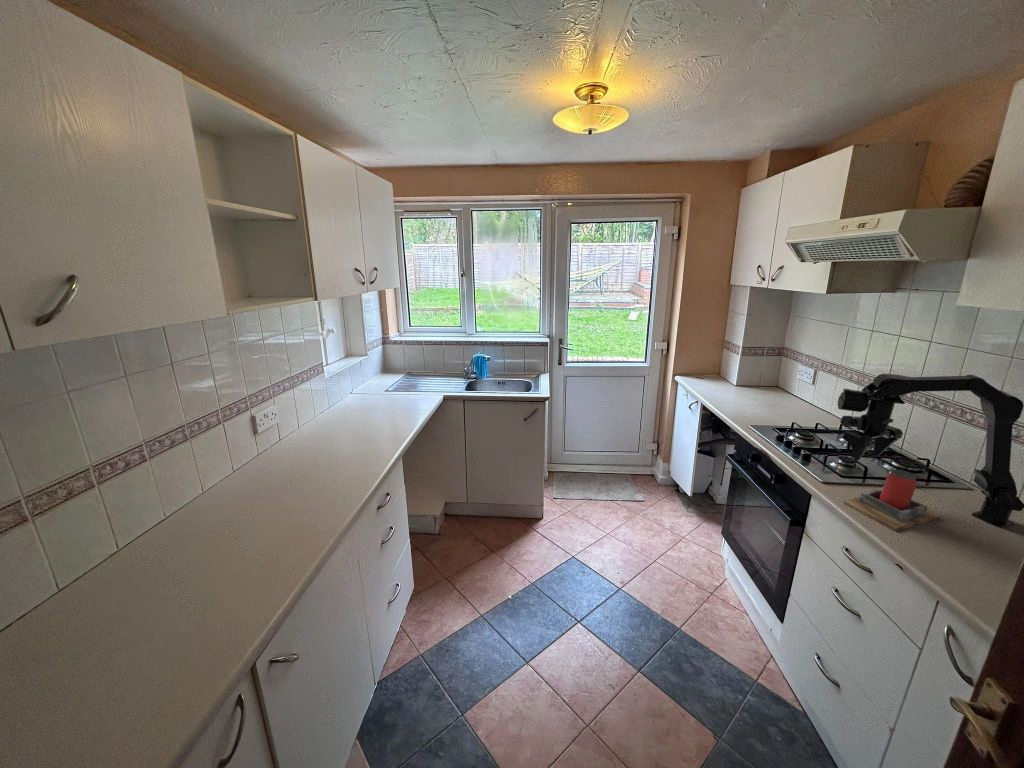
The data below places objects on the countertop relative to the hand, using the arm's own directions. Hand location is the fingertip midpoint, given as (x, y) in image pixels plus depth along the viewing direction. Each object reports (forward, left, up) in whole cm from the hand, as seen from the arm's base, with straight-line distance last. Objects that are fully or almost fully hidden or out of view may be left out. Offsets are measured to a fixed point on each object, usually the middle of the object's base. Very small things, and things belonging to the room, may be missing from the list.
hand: (865, 458), depth 130 cm
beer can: (+1, +11, -12) cm, 16 cm away
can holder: (+2, +11, -12) cm, 17 cm away
